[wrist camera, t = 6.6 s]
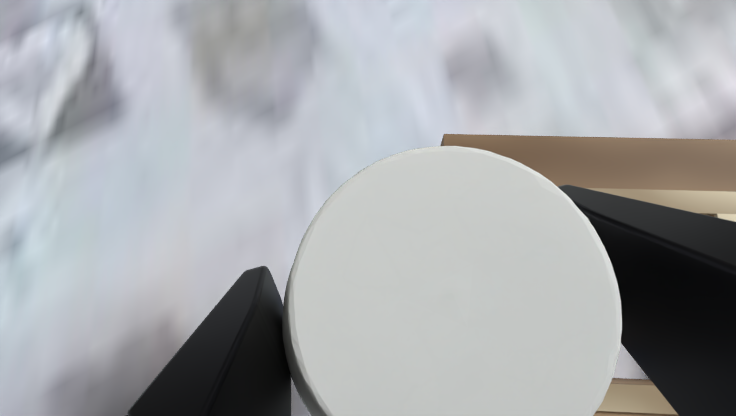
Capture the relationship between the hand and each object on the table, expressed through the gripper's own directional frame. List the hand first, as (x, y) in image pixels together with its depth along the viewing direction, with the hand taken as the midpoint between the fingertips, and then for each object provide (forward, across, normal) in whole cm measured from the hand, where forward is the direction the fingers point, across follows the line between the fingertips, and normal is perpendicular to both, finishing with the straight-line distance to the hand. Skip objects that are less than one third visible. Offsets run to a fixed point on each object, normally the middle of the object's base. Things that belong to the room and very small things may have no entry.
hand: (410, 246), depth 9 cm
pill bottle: (+4, 0, +6) cm, 7 cm away
